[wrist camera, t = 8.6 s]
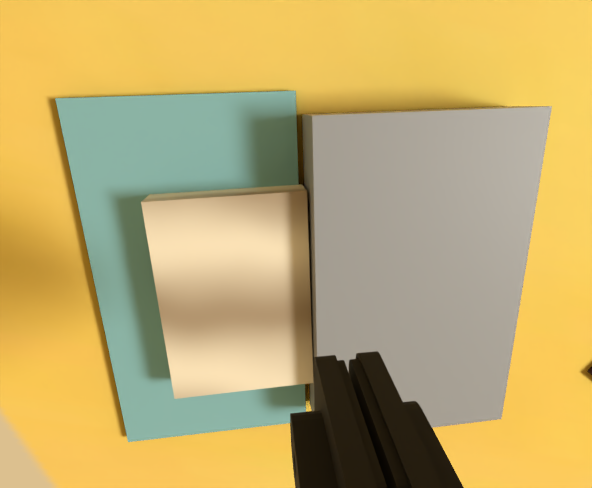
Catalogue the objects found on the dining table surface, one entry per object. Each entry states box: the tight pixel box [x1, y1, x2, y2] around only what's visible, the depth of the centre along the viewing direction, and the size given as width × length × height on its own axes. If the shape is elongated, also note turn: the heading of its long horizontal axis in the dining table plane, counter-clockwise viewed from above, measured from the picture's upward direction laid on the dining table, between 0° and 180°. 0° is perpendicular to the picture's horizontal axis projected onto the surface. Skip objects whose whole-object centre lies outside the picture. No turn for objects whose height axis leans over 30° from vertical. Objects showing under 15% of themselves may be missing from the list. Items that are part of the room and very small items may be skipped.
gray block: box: [302, 106, 552, 427], centre depth 20 cm, size 16×10×3 cm, turn 2°
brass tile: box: [141, 184, 313, 399], centre depth 20 cm, size 10×7×2 cm
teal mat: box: [55, 91, 306, 442], centre depth 20 cm, size 18×10×1 cm, turn 2°
